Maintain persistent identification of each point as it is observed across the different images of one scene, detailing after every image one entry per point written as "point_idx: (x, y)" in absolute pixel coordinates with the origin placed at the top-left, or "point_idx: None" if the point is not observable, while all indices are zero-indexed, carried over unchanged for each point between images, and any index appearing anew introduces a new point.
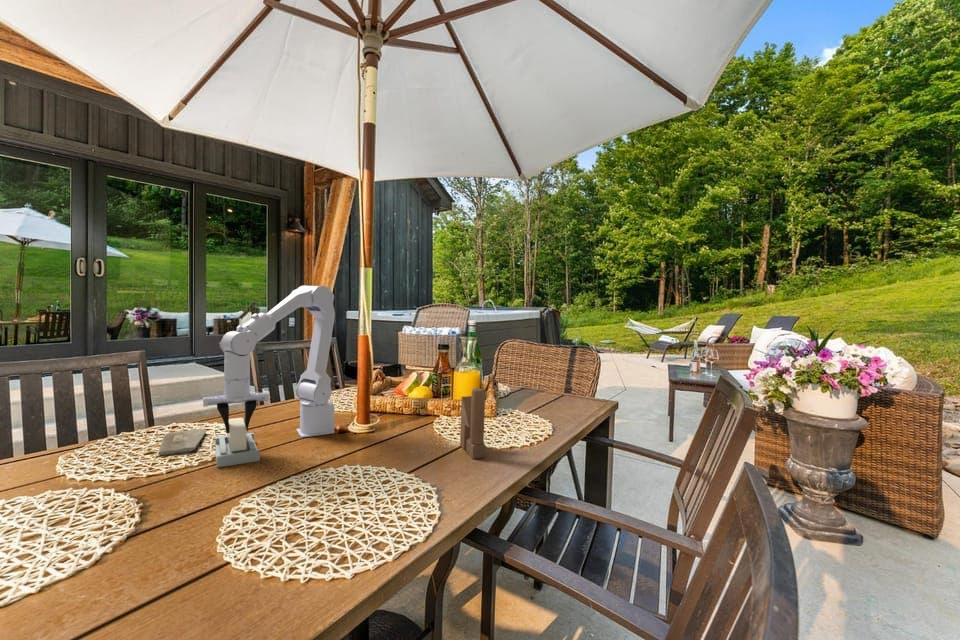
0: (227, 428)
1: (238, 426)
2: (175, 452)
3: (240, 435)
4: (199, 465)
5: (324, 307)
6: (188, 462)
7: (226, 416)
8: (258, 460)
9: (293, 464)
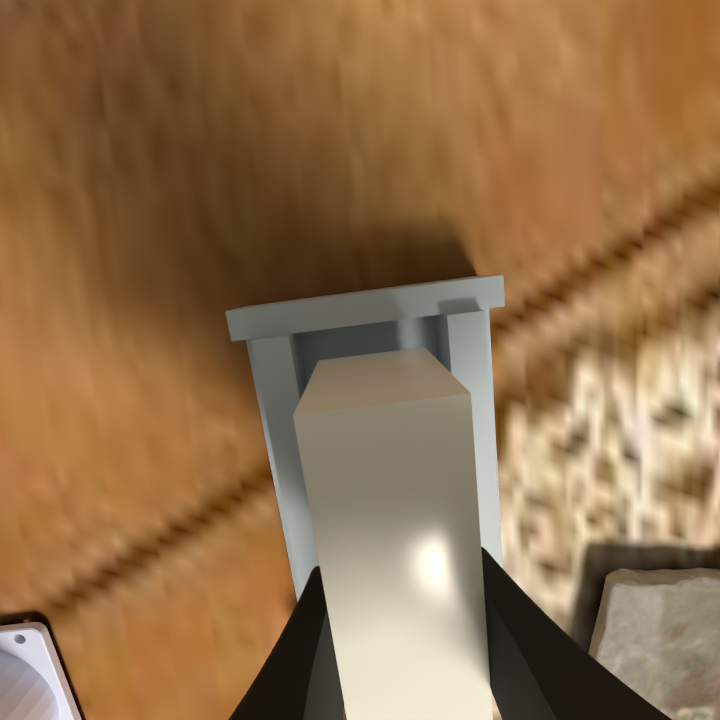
0: (493, 575)
1: (390, 561)
2: (691, 570)
3: (358, 388)
4: (568, 349)
5: None
6: (622, 418)
7: (589, 712)
8: (253, 305)
9: (29, 160)
